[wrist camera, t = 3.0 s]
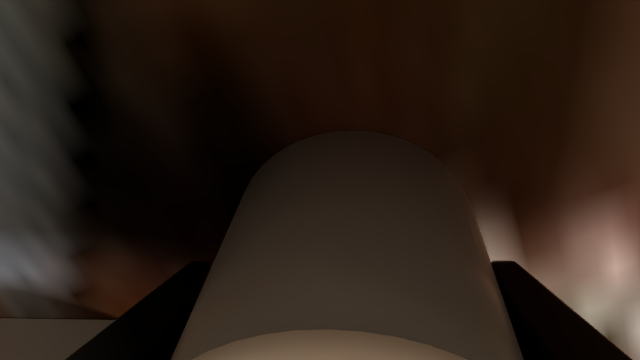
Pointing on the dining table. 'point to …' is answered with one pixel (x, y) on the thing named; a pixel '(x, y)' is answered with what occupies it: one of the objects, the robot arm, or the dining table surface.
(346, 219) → the lens
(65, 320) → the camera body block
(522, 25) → the dining table surface
